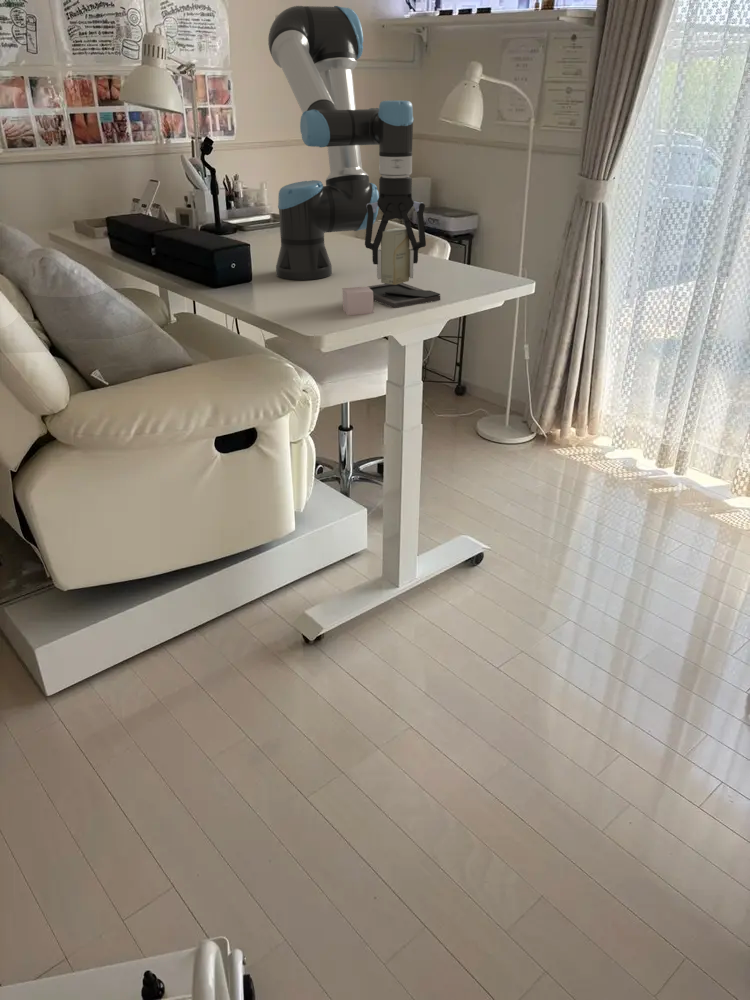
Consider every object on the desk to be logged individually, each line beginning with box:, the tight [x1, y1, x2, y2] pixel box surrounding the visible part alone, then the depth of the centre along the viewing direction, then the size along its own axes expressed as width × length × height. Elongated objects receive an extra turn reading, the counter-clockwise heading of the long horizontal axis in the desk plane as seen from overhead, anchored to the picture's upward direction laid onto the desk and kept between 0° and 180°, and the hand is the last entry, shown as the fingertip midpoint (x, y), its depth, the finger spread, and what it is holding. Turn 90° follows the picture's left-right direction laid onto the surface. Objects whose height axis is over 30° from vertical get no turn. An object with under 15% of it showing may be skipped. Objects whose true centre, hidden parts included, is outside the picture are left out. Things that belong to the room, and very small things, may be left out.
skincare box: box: [380, 227, 411, 285], centre depth 189 cm, size 6×4×12 cm
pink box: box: [341, 286, 374, 316], centre depth 180 cm, size 6×5×5 cm
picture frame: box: [366, 282, 441, 309], centre depth 193 cm, size 13×2×18 cm
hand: (395, 277), depth 191 cm, fingers closed on skincare box, 7 cm apart
